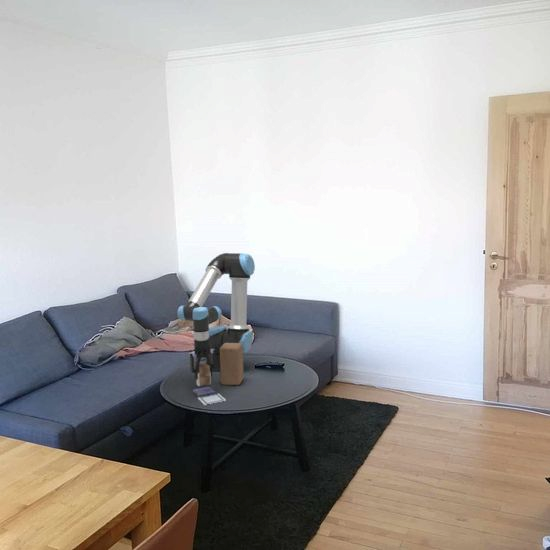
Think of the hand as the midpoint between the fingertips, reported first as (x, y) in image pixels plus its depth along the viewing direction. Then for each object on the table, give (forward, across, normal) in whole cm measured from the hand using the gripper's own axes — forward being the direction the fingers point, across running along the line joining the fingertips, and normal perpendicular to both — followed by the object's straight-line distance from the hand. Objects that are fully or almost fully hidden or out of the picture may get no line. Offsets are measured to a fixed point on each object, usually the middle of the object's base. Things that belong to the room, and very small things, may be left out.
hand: (203, 384), depth 287 cm
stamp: (0, 0, 0) cm, 0 cm away
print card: (+5, 0, -10) cm, 11 cm away
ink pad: (+5, 0, 0) cm, 5 cm away
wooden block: (+5, +18, +7) cm, 20 cm away
